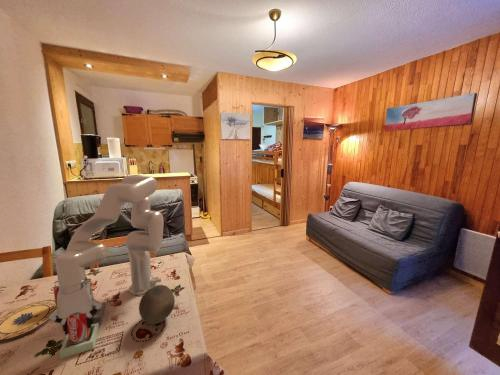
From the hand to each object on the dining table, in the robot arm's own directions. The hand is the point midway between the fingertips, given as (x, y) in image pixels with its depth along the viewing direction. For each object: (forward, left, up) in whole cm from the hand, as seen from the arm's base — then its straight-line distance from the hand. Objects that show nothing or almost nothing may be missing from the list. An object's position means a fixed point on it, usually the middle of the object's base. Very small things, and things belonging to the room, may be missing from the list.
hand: (79, 327), depth 79 cm
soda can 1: (+12, -27, -7) cm, 30 cm away
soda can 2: (0, 0, -4) cm, 4 cm away
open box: (0, -7, -6) cm, 9 cm away
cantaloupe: (-27, 0, -7) cm, 28 cm away
